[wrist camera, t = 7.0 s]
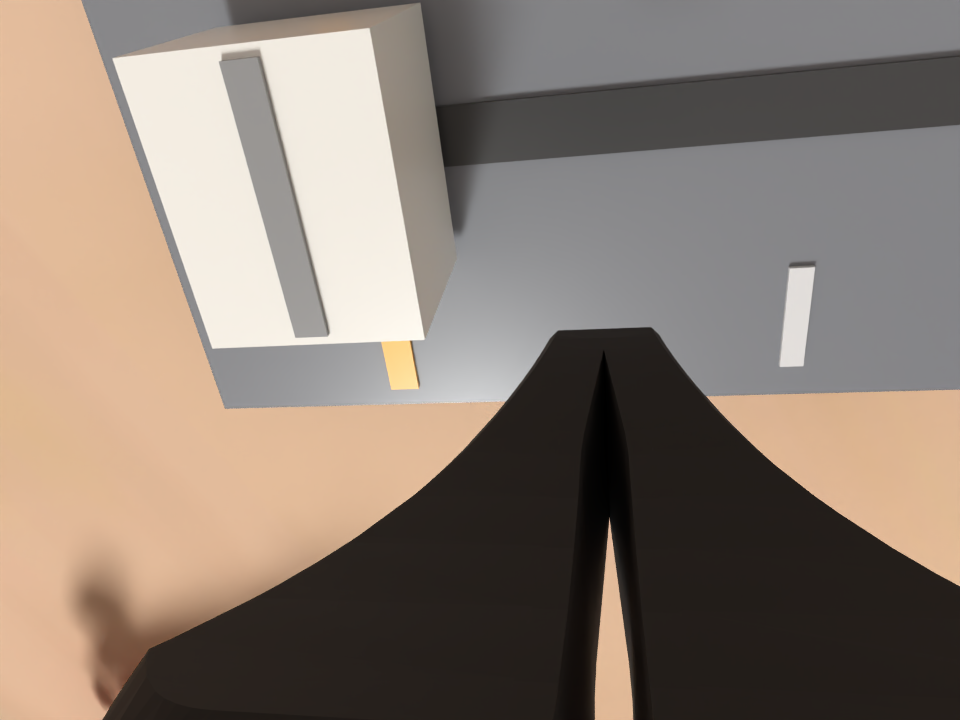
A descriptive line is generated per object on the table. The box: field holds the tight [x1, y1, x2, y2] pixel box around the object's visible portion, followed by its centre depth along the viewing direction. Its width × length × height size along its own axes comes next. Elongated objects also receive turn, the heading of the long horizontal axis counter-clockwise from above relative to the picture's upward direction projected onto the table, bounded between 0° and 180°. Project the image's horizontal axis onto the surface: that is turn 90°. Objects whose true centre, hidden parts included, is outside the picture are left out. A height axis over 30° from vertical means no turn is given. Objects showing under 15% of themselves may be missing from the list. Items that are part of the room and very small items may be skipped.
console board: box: [82, 0, 960, 409], centre depth 15 cm, size 20×13×2 cm, turn 97°
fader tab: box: [112, 3, 457, 349], centre depth 13 cm, size 4×5×4 cm
